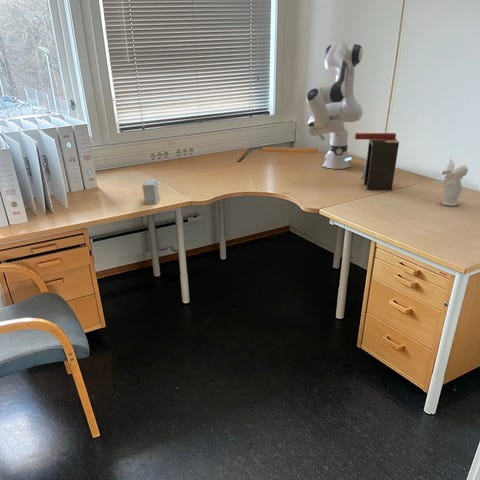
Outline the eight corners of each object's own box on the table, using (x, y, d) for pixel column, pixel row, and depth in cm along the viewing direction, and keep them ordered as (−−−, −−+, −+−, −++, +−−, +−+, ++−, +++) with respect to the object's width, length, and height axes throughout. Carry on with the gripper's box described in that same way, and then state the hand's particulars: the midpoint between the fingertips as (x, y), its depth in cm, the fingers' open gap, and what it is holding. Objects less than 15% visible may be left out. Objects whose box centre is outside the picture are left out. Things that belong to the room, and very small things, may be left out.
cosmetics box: (148, 198, 267) (145, 179, 262) (159, 198, 267) (157, 179, 262) (144, 204, 258) (141, 184, 253) (156, 204, 258) (154, 184, 253)
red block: (354, 138, 270) (355, 133, 268) (394, 138, 269) (395, 133, 267) (355, 139, 268) (355, 134, 266) (395, 139, 266) (396, 134, 265)
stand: (363, 183, 285) (369, 137, 271) (387, 184, 284) (394, 137, 270) (366, 189, 274) (373, 142, 261) (391, 190, 274) (399, 142, 260)
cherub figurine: (463, 206, 248) (473, 162, 237) (442, 208, 245) (451, 165, 234) (448, 199, 258) (457, 157, 247) (428, 201, 255) (436, 159, 244)
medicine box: (376, 179, 293) (378, 164, 288) (373, 180, 290) (375, 166, 285) (365, 176, 297) (367, 162, 293) (361, 178, 295) (363, 164, 290)
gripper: (341, 110, 261) (349, 131, 270) (307, 117, 272) (316, 137, 282) (338, 118, 258) (346, 138, 268) (304, 125, 270) (313, 144, 280)
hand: (330, 138), depth 275 cm, fingers open, 8 cm apart
